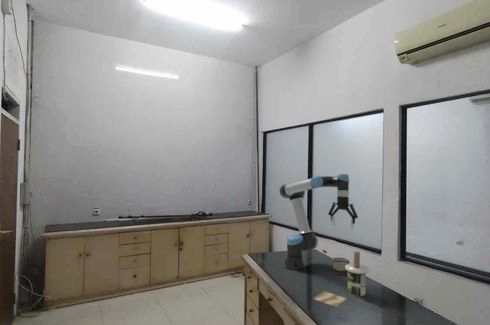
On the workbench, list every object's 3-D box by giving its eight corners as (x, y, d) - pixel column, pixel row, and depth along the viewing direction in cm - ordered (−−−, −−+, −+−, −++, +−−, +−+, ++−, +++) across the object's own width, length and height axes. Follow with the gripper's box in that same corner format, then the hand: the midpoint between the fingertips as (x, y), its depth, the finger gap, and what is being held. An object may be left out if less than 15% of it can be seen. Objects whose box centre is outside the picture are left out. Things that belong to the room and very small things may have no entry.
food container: (347, 271, 206) (347, 257, 207) (349, 274, 200) (349, 260, 200) (330, 270, 208) (330, 256, 208) (331, 273, 201) (332, 259, 202)
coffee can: (352, 297, 164) (352, 273, 164) (344, 290, 174) (344, 266, 174) (369, 297, 164) (369, 272, 165) (360, 289, 175) (360, 266, 175)
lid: (341, 269, 169) (341, 252, 169) (349, 264, 179) (350, 248, 179) (364, 275, 160) (364, 257, 161) (371, 269, 170) (371, 252, 170)
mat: (312, 299, 160) (312, 298, 160) (324, 292, 170) (324, 291, 170) (336, 308, 150) (336, 306, 150) (346, 299, 161) (346, 298, 161)
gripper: (323, 195, 202) (323, 224, 201) (359, 197, 185) (358, 230, 184) (328, 194, 207) (328, 223, 207) (363, 197, 190) (362, 228, 190)
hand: (342, 226), depth 195 cm, fingers open, 13 cm apart
